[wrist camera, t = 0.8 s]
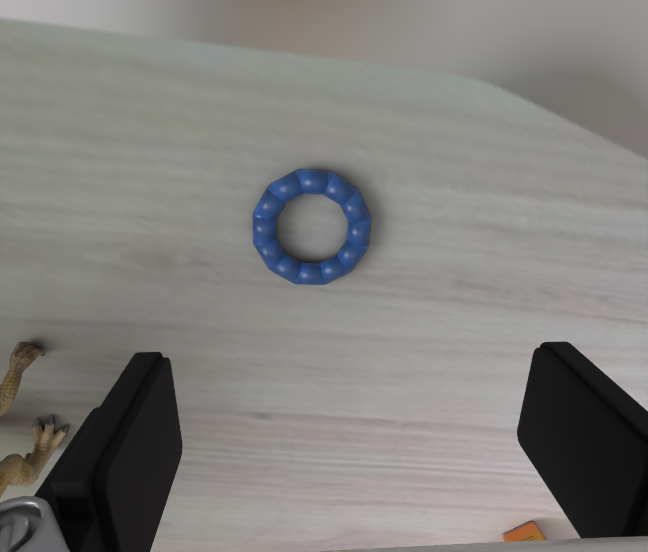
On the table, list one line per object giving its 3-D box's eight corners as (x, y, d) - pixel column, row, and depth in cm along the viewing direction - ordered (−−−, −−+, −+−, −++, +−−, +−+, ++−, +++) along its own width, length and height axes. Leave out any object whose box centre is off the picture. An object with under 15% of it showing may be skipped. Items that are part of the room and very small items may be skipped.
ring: (292, 144, 25) (292, 146, 24) (391, 209, 27) (395, 214, 26) (233, 244, 27) (230, 251, 26) (328, 298, 29) (329, 307, 28)
